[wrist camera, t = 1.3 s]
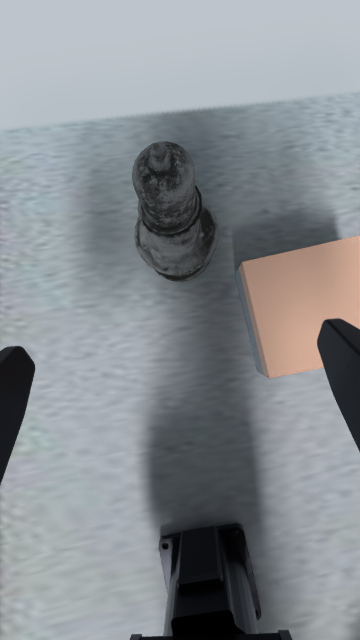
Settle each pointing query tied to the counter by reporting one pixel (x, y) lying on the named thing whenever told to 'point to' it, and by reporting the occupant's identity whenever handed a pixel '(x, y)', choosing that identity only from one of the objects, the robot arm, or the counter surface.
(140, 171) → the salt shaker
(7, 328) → the counter surface
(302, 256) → the peach and grey block
